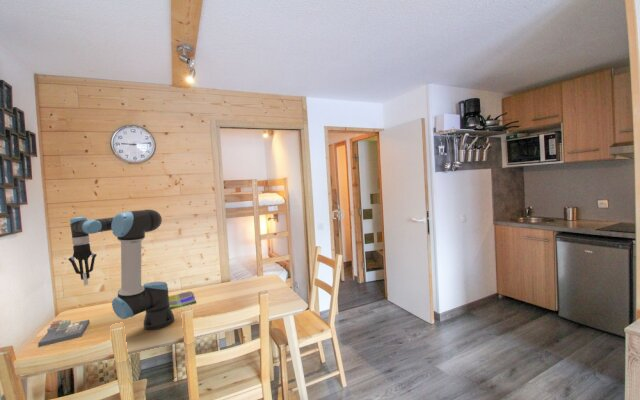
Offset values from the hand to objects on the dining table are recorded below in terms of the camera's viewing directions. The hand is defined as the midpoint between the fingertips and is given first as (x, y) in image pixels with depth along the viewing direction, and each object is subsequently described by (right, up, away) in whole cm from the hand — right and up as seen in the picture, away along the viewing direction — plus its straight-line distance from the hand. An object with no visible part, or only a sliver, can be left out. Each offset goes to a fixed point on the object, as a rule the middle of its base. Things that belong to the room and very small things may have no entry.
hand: (86, 284), depth 170 cm
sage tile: (-4, -21, -9) cm, 23 cm away
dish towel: (+41, -20, +28) cm, 54 cm away
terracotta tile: (-11, -22, -6) cm, 25 cm away
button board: (-4, -24, -9) cm, 26 cm away
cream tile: (+3, -21, -12) cm, 24 cm away
